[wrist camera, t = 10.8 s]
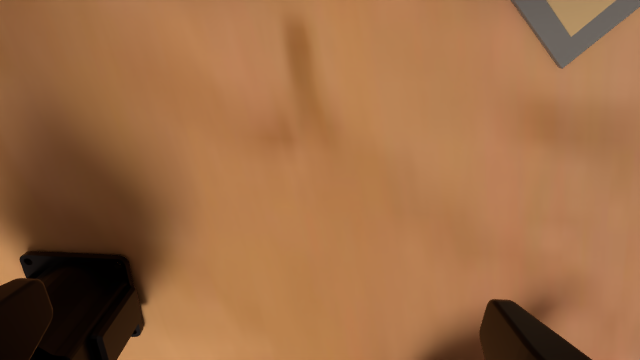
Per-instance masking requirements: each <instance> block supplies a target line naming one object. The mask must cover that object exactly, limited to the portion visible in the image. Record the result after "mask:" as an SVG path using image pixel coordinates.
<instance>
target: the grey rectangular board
mask: <svg viewBox="0 0 640 360" xmlns="http://www.w3.org/2000/svg"><path fill="white" fill-rule="evenodd" d="M511 1H512V3H513V4H514V5H515V7H516V8H517V10H518V11H519V13H520V14H521V15H522V17H523V18H524V20H525V21H526V22H527V24H528V25H529V27H530V28H531V29H532V31H533V32H534V34H535V35H536V36H537V38H538V39H539V41H540V42H541V44H542V45H543V46H544V48H545V49H546V51H547V52H548V53H549V55H550V56H551V58H552V59H553V60H554V62H555V63H556V65H557V66H558V67H559V68H564V67H565V66H566V65H567V64H569V63H570V62H571V61H572V60H574V59H575V58H576V57H577V56H579V55H580V54H581V53H582V52H584V51H585V50H586V49H587V48H589V47H590V46H591V45H592V44H594V43H595V42H596V41H598V40H599V39H600V38H601V37H603V36H604V35H605V34H606V33H608V32H609V31H610V30H611V29H613V28H614V27H615V26H616V25H618V24H619V23H620V22H621V21H623V20H624V19H625V18H626V17H628V16H629V15H630V14H631V13H633V12H634V11H635V10H636V9H638V8H639V7H640V0H511Z"/></svg>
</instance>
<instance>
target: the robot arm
mask: <svg viewBox="0 0 640 360" xmlns="http://www.w3.org/2000/svg"><path fill="white" fill-rule="evenodd" d="M117 262H118V263H120V264H121V265H120V264H118V263H117ZM20 263H21V265H22V268H23V271H24V273H25V276H26V278H19V279H15V280H12V281H10V282H8V283H6V284H3V285H1V286H0V360H117V358H118V357H119V355H120V353H121V352H122V350H123V349H124V347H125V345H126V344H127V342H128V340H129V339H130V337H137V336H139V335H140V334H141V332H142V330H143V324H142V313H141V308H140V304H139V299H138V295H137V290H136V288H135V287H134V283H133V279H132V274H131V270H130V265H129V261H128V259H127V258H126V257H124V256H122V255H108V254H85V253H62V252H39V251H28V252H26V253H25V254H23V255H22V256H21V257H20ZM480 342H481V346H482V349H483V353H484V357H485V360H592V359H590V358H589V357H588V356H586V355H585V354H584V353H582V352H581V351H580V350H578V349H577V348H576V347H574V346H573V345H571V344H570V343H569V342H567V341H566V340H565V339H563V338H562V337H561V336H559V335H558V334H557V333H555V332H554V331H553V330H551V329H550V328H549V327H547V326H546V325H545V324H543V323H542V322H540V321H539V320H538V319H536V318H535V317H534V316H532V315H531V314H530V313H528V312H527V311H526V310H524V309H523V308H522V307H520V306H519V305H518V304H516V303H515V302H513V301H511V300H500V299H492V300H490V301H489V302H488V304H487V307H486V310H485V313H484V317H483V320H482V323H481V327H480Z"/></svg>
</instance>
